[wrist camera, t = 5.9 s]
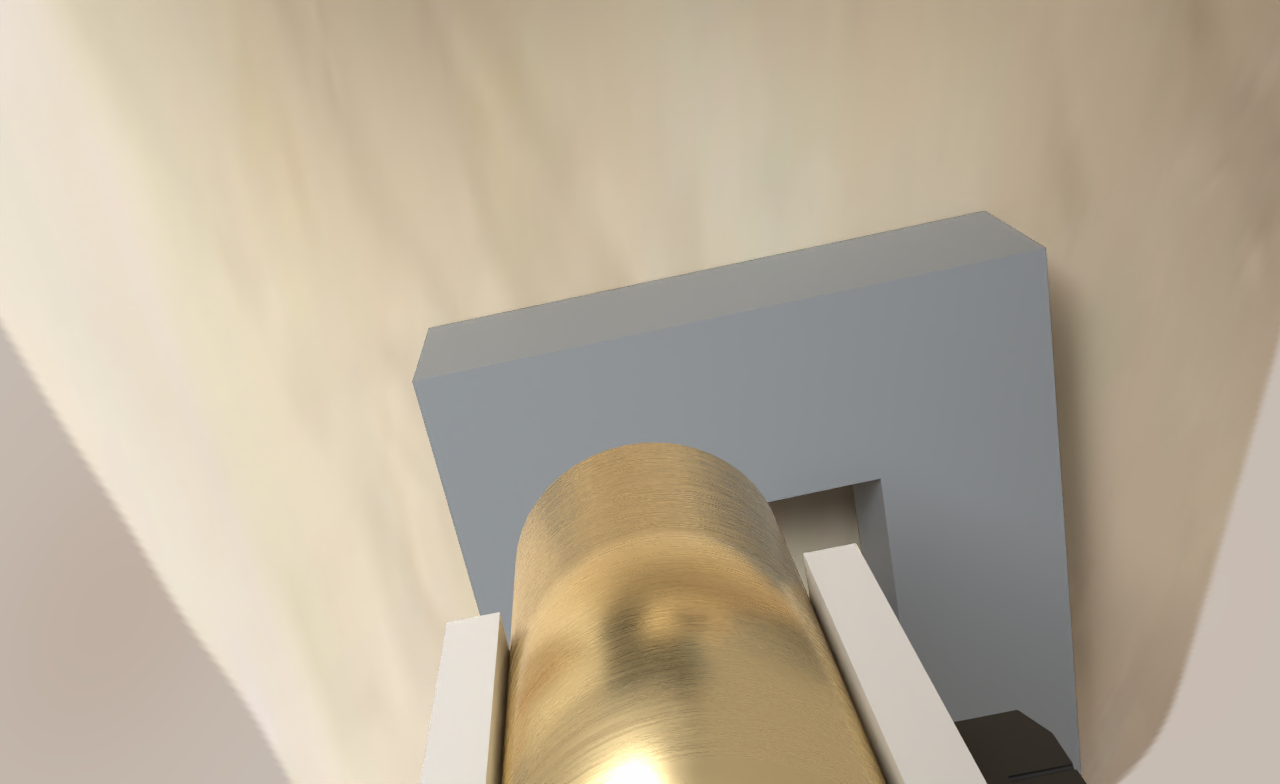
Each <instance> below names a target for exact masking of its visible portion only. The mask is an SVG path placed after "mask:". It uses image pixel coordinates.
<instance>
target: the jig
mask: <svg viewBox="0 0 1280 784" xmlns="http://www.w3.org/2000/svg"><path fill="white" fill-rule="evenodd" d="M412 382H413V385H414V389H415V392H416V396H417V399H418V403H419V406H420V409H421V413H422V416H423V420H424V423H425V427H426V430H427V434H428V437H429V441H430V444H431V447H432V451H433V454H434V458H435V461H436V465H437V468H438V472H439V475H440V478H441V482H442V485H443V489H444V492H445V496H446V499H447V503H448V506H449V510H450V513H451V516H452V520H453V523H454V527H455V530H456V534H457V537H458V541H459V544H460V547H461V551H462V554H463V558H464V561H465V565H466V568H467V572H468V575H469V579H470V582H471V585H472V589H473V592H474V596H475V599H476V603H477V606H478V610H479V613H480V616H482V615H487V614H492V613H498V612H500V614H501V618H502V622H503V626H504V630H505V634H506V638H507V642H508V646H509V650H510V639H511V624H512V608H513V593H514V578H515V562H516V554H517V546H518V543H519V539H520V535H521V531H522V529H523V527H524V524H525V522H526V520H527V517H528V515H529V514H530V512H531V510H532V509H533V507H534V505H535V504H536V502H537V501H538V499H539V498H540V497H541V496H542V494H543V493H544V492H545V491H546V489H547V488H548V487H549V486H550V485H551V484H552V483H553V482H555V481H556V480H557V479H558V478H559V477H560V476H561V475H562V474H564V473H565V472H566V471H568V470H569V469H571V468H572V467H573V466H575V465H577V464H578V463H580V462H582V461H584V460H586V459H587V458H589V457H591V456H594V455H596V454H599V453H601V452H604V451H606V450H609V449H613V448H617V447H620V446H624V445H631V444H638V443H660V442H661V443H671V444H680V445H684V446H688V447H692V448H697V449H699V450H702V451H705V452H707V453H710V454H713V455H715V456H716V457H718V458H720V459H722V460H724V461H726V462H728V463H729V464H731V465H732V466H733V467H735V468H736V469H738V470H739V471H740V472H742V473H743V474H744V475H745V476H746V477H747V478H748V479H749V480H750V481H751V482H752V483H754V485H755V486H756V487H757V488H758V490H759V491H760V492H761V493H762V495H763V496H764V497H765V499H766V501H767V502H771V501H776V500H781V499H786V498H790V497H795V496H800V495H805V494H809V493H814V492H819V491H824V490H828V489H833V488H838V487H843V486H847V485H852V487H853V494H854V501H855V508H856V515H857V522H858V529H859V536H860V543H861V550H862V555H863V557H864V559H865V560H866V562H867V564H868V566H869V568H870V570H871V572H872V573H873V575H874V577H875V579H876V581H877V583H878V584H879V586H880V588H881V590H882V592H883V594H884V595H885V597H886V599H887V601H888V603H889V605H890V606H891V608H892V610H893V612H894V614H895V616H896V617H897V619H898V621H899V623H900V625H901V627H902V628H903V630H904V632H905V634H906V636H907V638H908V639H909V641H910V643H911V645H912V647H913V649H914V650H915V652H916V654H917V656H918V658H919V660H920V662H921V663H922V665H923V667H924V669H925V671H926V673H927V674H928V676H929V678H930V680H931V682H932V684H933V685H934V687H935V689H936V691H937V693H938V695H939V696H940V698H941V700H942V702H943V704H944V706H945V707H946V709H947V711H948V713H949V715H950V717H951V718H952V720H953V722H957V721H962V720H967V719H972V718H977V717H982V716H988V715H993V714H998V713H1003V712H1008V711H1013V710H1019V711H1020V712H1022V713H1023V714H1025V715H1026V716H1028V717H1029V718H1031V719H1032V720H1034V721H1035V722H1037V723H1038V724H1040V725H1041V726H1043V727H1044V728H1046V729H1047V730H1049V731H1050V732H1052V733H1053V735H1054V736H1055V738H1056V739H1057V741H1058V742H1059V744H1060V745H1061V747H1062V748H1063V750H1064V751H1065V752H1066V754H1067V755H1068V757H1069V758H1070V760H1071V761H1072V763H1073V767H1074V769H1075V770H1078V772H1079V773H1080V775H1081V763H1080V748H1079V733H1078V718H1077V704H1076V689H1075V674H1074V659H1073V644H1072V629H1071V615H1070V600H1069V585H1068V570H1067V555H1066V540H1065V526H1064V511H1063V496H1062V481H1061V466H1060V451H1059V437H1058V422H1057V407H1056V392H1055V377H1054V363H1053V348H1052V333H1051V318H1050V303H1049V288H1048V274H1047V259H1046V248H1045V247H1044V246H1042V245H1040V244H1039V243H1037V242H1035V241H1034V240H1032V239H1030V238H1029V237H1027V236H1026V235H1024V234H1022V233H1021V232H1019V231H1017V230H1016V229H1014V228H1012V227H1011V226H1009V225H1008V224H1006V223H1004V222H1003V221H1001V220H999V219H998V218H996V217H994V216H993V215H991V214H990V213H988V212H986V211H982V212H978V213H973V214H968V215H963V216H959V217H954V218H949V219H944V220H940V221H935V222H930V223H925V224H921V225H916V226H911V227H906V228H902V229H897V230H892V231H888V232H883V233H878V234H873V235H869V236H864V237H859V238H854V239H850V240H845V241H840V242H835V243H831V244H826V245H821V246H816V247H812V248H807V249H802V250H798V251H793V252H788V253H783V254H779V255H774V256H769V257H764V258H760V259H755V260H750V261H745V262H741V263H736V264H731V265H726V266H722V267H717V268H712V269H708V270H703V271H698V272H693V273H689V274H684V275H679V276H674V277H670V278H665V279H660V280H655V281H651V282H646V283H641V284H636V285H632V286H627V287H622V288H618V289H613V290H608V291H603V292H599V293H594V294H589V295H584V296H580V297H575V298H570V299H565V300H561V301H556V302H551V303H547V304H542V305H537V306H532V307H528V308H523V309H518V310H513V311H509V312H504V313H499V314H494V315H490V316H485V317H480V318H475V319H471V320H466V321H461V322H457V323H452V324H447V325H442V326H438V327H433V328H429V330H428V333H427V336H426V339H425V342H424V346H423V349H422V352H421V355H420V359H419V362H418V365H417V368H416V371H415V375H414V378H413V381H412Z"/></svg>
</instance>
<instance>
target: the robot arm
mask: <svg viewBox="0 0 1280 784" xmlns="http://www.w3.org/2000/svg"><path fill="white" fill-rule="evenodd" d="M803 555H804V562H805V569H806V576H807V582H808V589H809V596H810V602H811V604H812V607H813V609H814V611H815V614H816V616H817V619H818V621H819V623H820V626H821V628H822V631H823V633H824V635H825V638H826V640H827V643H828V645H829V647H830V650H831V652H832V654H833V657H834V659H835V662H836V664H837V666H838V669H839V671H840V674H841V676H842V678H843V681H844V683H845V685H846V688H847V690H848V693H849V695H850V697H851V700H852V702H853V705H854V707H855V709H856V712H857V714H858V717H859V719H860V721H861V724H862V726H863V728H864V731H865V733H866V736H867V738H868V740H869V743H870V745H871V748H872V750H873V752H874V755H875V757H876V759H877V762H878V764H879V767H880V769H881V771H882V774H883V776H884V779H885V781H886V783H887V784H1086V782H1085V781H1084V779H1083V778H1082V776H1081V775H1080V773H1079V772H1078V770H1075V769H1074V767H1073V763H1072V761H1071V760H1070V758H1069V757H1068V755H1067V754H1066V752H1065V751H1064V750H1063V748H1062V747H1061V745H1060V744H1059V742H1058V741H1057V739H1056V738H1055V736H1054V735H1053V733H1052V732H1050V731H1049V730H1047V729H1046V728H1044V727H1043V726H1041V725H1040V724H1038V723H1037V722H1035V721H1034V720H1032V719H1031V718H1029V717H1028V716H1026V715H1025V714H1023V713H1022V712H1020V711H1019V710H1013V711H1008V712H1003V713H998V714H993V715H988V716H982V717H977V718H972V719H967V720H962V721H957V722H953V720H952V718H951V717H950V715H949V713H948V711H947V709H946V707H945V706H944V704H943V702H942V700H941V698H940V696H939V695H938V693H937V691H936V689H935V687H934V685H933V684H932V682H931V680H930V678H929V676H928V674H927V673H926V671H925V669H924V667H923V665H922V663H921V662H920V660H919V658H918V656H917V654H916V652H915V650H914V649H913V647H912V645H911V643H910V641H909V639H908V638H907V636H906V634H905V632H904V630H903V628H902V627H901V625H900V623H899V621H898V619H897V617H896V616H895V614H894V612H893V610H892V608H891V606H890V605H889V603H888V601H887V599H886V597H885V595H884V594H883V592H882V590H881V588H880V586H879V584H878V583H877V581H876V579H875V577H874V575H873V573H872V572H871V570H870V568H869V566H868V564H867V562H866V560H865V559H864V557H863V555H862V553H861V551H860V549H859V548H858V546H857V544H856V543H854V544H849V545H844V546H838V547H833V548H828V549H823V550H818V551H813V552H807V553H803ZM509 655H510V650H509V646H508V642H507V638H506V634H505V630H504V626H503V622H502V618H501V614H500V612H498V613H492V614H487V615H482V616H477V617H472V618H467V619H461V620H456V621H451V622H447V624H446V630H445V637H444V643H443V649H442V655H441V661H440V667H439V673H438V679H437V685H436V691H435V697H434V703H433V709H432V715H431V721H430V727H429V733H428V739H427V745H426V751H425V757H424V763H423V770H422V776H421V782H420V784H501V777H502V762H503V747H504V731H505V716H506V701H507V685H508V670H509Z"/></svg>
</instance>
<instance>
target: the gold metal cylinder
mask: <svg viewBox="0 0 1280 784" xmlns="http://www.w3.org/2000/svg"><path fill="white" fill-rule="evenodd" d="M501 784H887V783H886V781H885V779H884V776H883V774H882V771H881V769H880V767H879V764H878V762H877V759H876V757H875V755H874V752H873V750H872V748H871V745H870V743H869V740H868V738H867V736H866V733H865V731H864V728H863V726H862V724H861V721H860V719H859V717H858V714H857V712H856V709H855V707H854V705H853V702H852V700H851V697H850V695H849V693H848V690H847V688H846V685H845V683H844V681H843V678H842V676H841V674H840V671H839V669H838V666H837V664H836V662H835V659H834V657H833V654H832V652H831V650H830V647H829V645H828V643H827V640H826V638H825V635H824V633H823V631H822V628H821V626H820V623H819V621H818V619H817V616H816V614H815V611H814V609H813V607H812V604H811V602H810V600H809V597H808V595H807V592H806V590H805V588H804V585H803V583H802V580H801V578H800V576H799V573H798V571H797V569H796V566H795V564H794V561H793V559H792V557H791V554H790V552H789V549H788V547H787V545H786V542H785V540H784V538H783V535H782V533H781V530H780V528H779V526H778V523H777V521H776V518H775V516H774V514H773V511H772V509H771V508H770V506H769V504H768V502H767V501H766V499H765V497H764V496H763V495H762V493H761V492H760V491H759V490H758V488H757V487H756V486H755V485H754V483H752V482H751V481H750V480H749V479H748V478H747V477H746V476H745V475H744V474H743V473H742V472H740V471H739V470H738V469H736V468H735V467H733V466H732V465H731V464H729V463H728V462H726V461H724V460H722V459H720V458H718V457H716V456H715V455H713V454H710V453H707V452H705V451H702V450H699V449H697V448H692V447H688V446H684V445H680V444H671V443H661V442H660V443H638V444H631V445H624V446H620V447H617V448H613V449H609V450H606V451H604V452H601V453H599V454H596V455H594V456H591V457H589V458H587V459H586V460H584V461H582V462H580V463H578V464H577V465H575V466H573V467H572V468H571V469H569V470H568V471H566V472H565V473H564V474H562V475H561V476H560V477H559V478H558V479H557V480H556V481H555V482H553V483H552V484H551V485H550V486H549V487H548V488H547V489H546V491H545V492H544V493H543V494H542V496H541V497H540V498H539V499H538V501H537V502H536V504H535V505H534V507H533V509H532V510H531V512H530V514H529V515H528V517H527V520H526V522H525V524H524V527H523V529H522V531H521V535H520V539H519V543H518V546H517V554H516V562H515V578H514V593H513V608H512V624H511V639H510V655H509V670H508V685H507V701H506V716H505V731H504V747H503V762H502V777H501Z"/></svg>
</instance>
